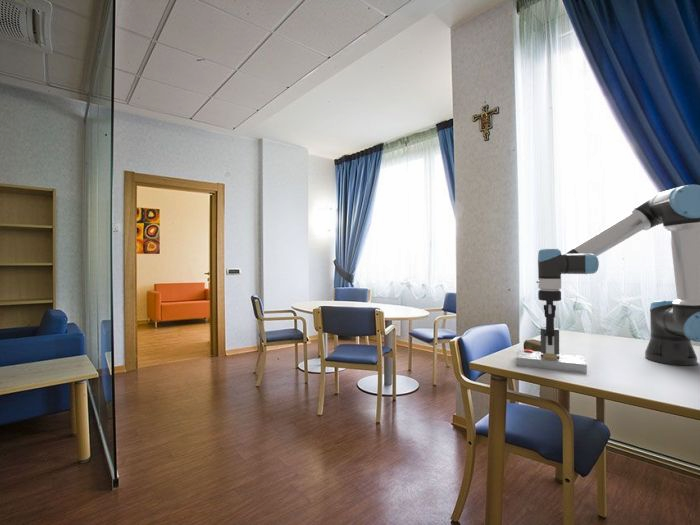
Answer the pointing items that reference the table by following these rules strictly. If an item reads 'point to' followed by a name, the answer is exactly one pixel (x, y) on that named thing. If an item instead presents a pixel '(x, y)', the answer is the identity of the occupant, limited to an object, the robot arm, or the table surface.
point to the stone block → (532, 345)
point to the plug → (556, 343)
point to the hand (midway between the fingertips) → (550, 351)
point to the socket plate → (552, 361)
